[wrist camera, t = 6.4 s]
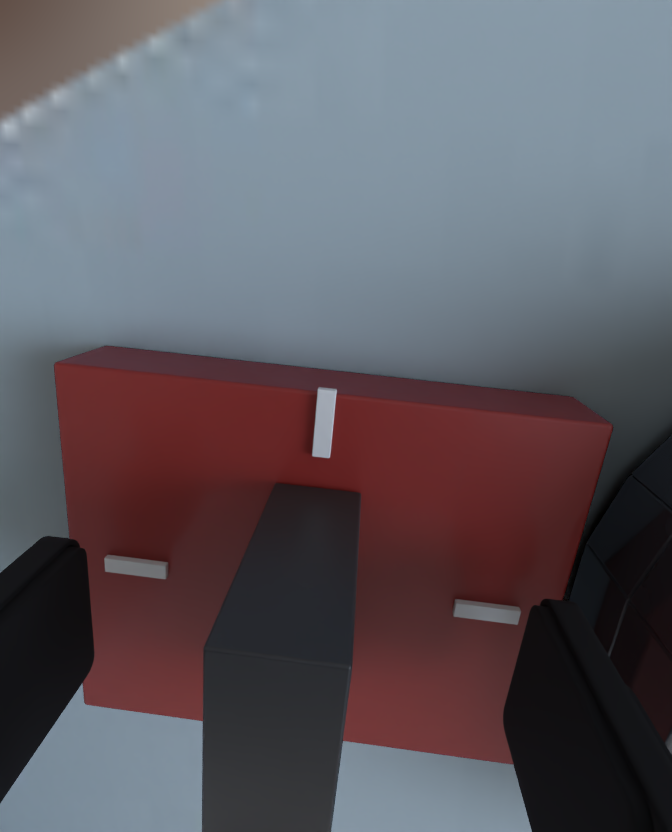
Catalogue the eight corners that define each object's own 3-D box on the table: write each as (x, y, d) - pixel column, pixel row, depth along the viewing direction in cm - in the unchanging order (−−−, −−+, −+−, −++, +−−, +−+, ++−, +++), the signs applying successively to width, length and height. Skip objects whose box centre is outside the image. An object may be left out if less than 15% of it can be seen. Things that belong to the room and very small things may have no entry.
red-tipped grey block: (274, 481, 10) (195, 662, 6) (361, 491, 10) (352, 685, 5) (263, 670, 12) (194, 931, 7) (338, 680, 12) (316, 950, 7)
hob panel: (121, 649, 14) (79, 714, 12) (104, 340, 12) (46, 358, 9) (495, 700, 14) (516, 775, 12) (575, 392, 11) (621, 423, 9)
